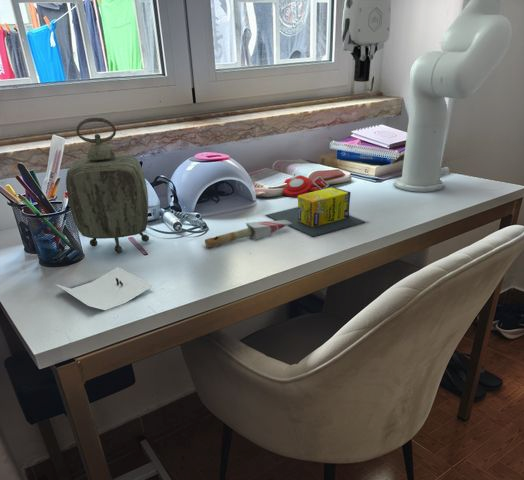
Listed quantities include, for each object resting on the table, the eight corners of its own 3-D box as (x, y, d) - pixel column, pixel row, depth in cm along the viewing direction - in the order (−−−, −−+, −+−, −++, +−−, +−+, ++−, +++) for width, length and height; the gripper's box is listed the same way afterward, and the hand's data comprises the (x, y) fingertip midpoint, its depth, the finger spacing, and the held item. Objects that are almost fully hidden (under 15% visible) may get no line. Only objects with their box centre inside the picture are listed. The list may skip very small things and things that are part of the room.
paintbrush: (293, 217, 107) (209, 240, 100) (294, 229, 109) (211, 252, 102) (284, 212, 110) (201, 234, 103) (284, 224, 112) (203, 246, 104)
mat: (315, 203, 125) (315, 202, 125) (365, 222, 113) (365, 221, 113) (266, 215, 119) (266, 214, 118) (313, 237, 106) (313, 236, 106)
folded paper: (154, 291, 86) (152, 281, 85) (90, 316, 79) (88, 305, 78) (118, 272, 94) (116, 262, 93) (57, 293, 87) (54, 283, 86)
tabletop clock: (154, 238, 108) (135, 112, 94) (154, 254, 100) (133, 119, 87) (86, 244, 106) (56, 116, 92) (80, 261, 99) (47, 124, 85)
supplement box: (349, 217, 115) (313, 228, 110) (332, 211, 119) (296, 221, 114) (351, 191, 112) (313, 201, 107) (333, 186, 116) (296, 195, 111)
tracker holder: (284, 194, 129) (276, 176, 135) (287, 209, 132) (280, 190, 139) (330, 180, 128) (319, 162, 135) (331, 195, 132) (321, 177, 138)
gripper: (353, -24, 95) (347, 85, 105) (408, -23, 101) (397, 79, 111) (328, -21, 100) (324, 82, 110) (382, -20, 107) (373, 77, 117)
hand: (361, 81), depth 111 cm, fingers closed
